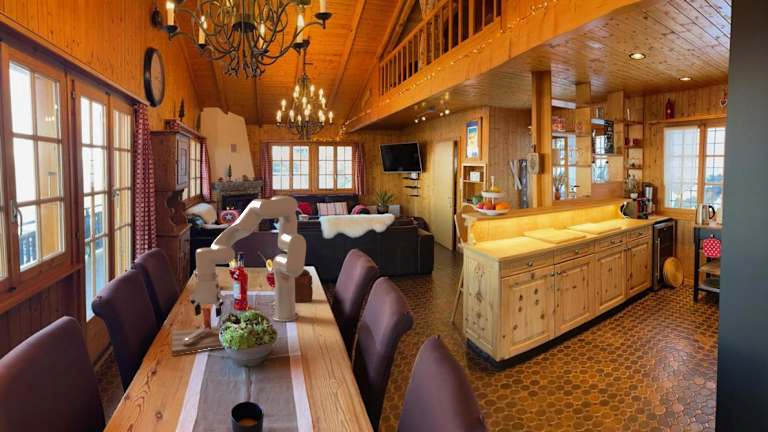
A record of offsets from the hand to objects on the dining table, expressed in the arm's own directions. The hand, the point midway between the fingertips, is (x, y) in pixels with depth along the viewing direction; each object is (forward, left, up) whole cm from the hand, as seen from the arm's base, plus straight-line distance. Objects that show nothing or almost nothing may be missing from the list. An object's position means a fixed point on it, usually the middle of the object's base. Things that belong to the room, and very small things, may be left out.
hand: (208, 315), depth 195 cm
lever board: (+5, -5, -10) cm, 12 cm away
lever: (+6, -5, -7) cm, 10 cm away
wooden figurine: (-35, +50, -10) cm, 62 cm away
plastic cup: (-81, +2, -10) cm, 82 cm away
